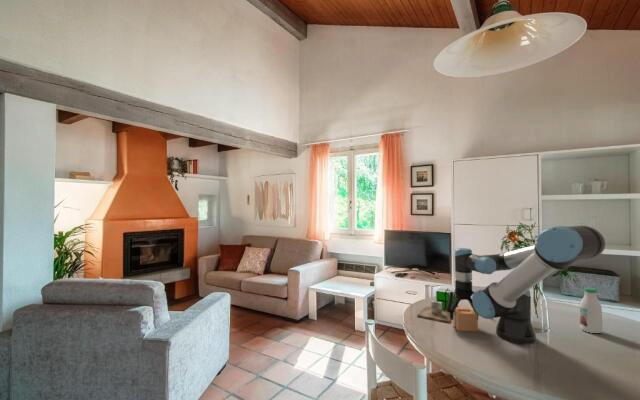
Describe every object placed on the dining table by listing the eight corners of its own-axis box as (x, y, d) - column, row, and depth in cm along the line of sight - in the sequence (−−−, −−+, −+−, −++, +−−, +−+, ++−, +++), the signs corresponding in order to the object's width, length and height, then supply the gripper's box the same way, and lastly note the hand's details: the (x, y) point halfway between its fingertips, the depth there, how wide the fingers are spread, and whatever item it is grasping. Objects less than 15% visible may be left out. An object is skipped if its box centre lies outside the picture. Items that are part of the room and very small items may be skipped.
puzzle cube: (458, 306, 178) (457, 289, 179) (455, 311, 170) (455, 293, 170) (439, 303, 184) (439, 286, 184) (436, 308, 175) (436, 291, 175)
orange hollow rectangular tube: (469, 323, 153) (469, 307, 153) (477, 331, 144) (477, 313, 144) (451, 323, 154) (451, 307, 154) (458, 330, 145) (457, 313, 145)
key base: (455, 313, 167) (455, 300, 167) (449, 323, 154) (449, 309, 154) (425, 308, 176) (425, 295, 176) (417, 316, 163) (417, 303, 163)
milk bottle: (602, 330, 143) (601, 288, 143) (602, 336, 138) (601, 291, 138) (580, 326, 148) (580, 285, 149) (579, 331, 143) (579, 288, 143)
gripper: (483, 278, 152) (483, 323, 152) (438, 278, 154) (438, 322, 154) (490, 282, 145) (491, 330, 144) (442, 281, 146) (443, 329, 146)
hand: (464, 326), depth 149 cm, fingers open, 9 cm apart
